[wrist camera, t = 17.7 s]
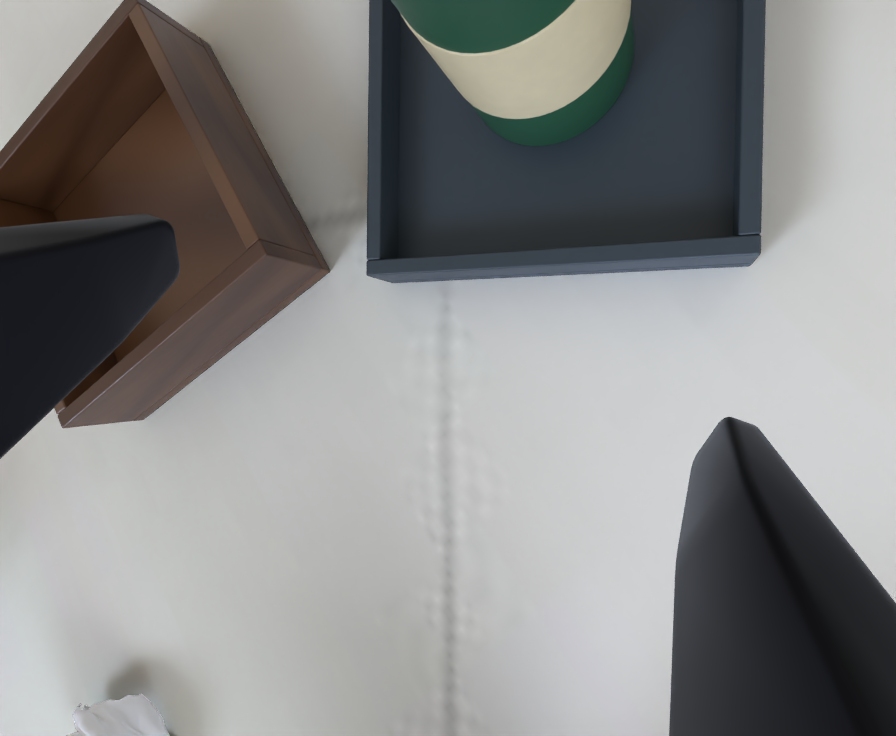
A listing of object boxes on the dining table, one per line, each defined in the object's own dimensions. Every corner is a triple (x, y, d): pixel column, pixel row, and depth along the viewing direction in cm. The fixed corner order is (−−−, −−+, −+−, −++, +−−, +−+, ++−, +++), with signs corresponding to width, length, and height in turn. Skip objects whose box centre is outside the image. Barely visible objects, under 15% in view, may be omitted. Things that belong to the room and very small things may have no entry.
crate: (330, 271, 24) (266, 254, 20) (143, 420, 28) (61, 429, 24) (208, 43, 26) (131, -11, 23) (53, 211, 31) (-33, 190, 27)
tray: (751, 266, 18) (760, 254, 16) (391, 283, 23) (365, 275, 21) (760, -206, 18) (771, -276, 16) (395, -86, 23) (369, -128, 21)
